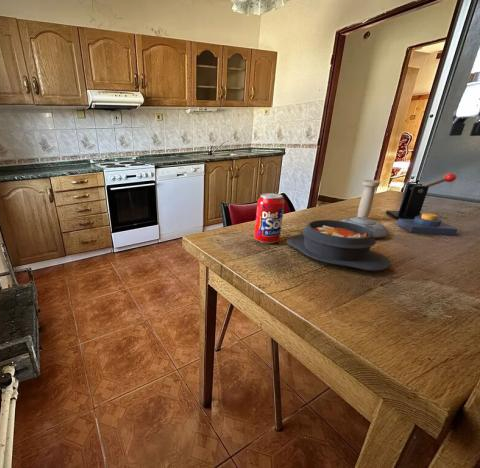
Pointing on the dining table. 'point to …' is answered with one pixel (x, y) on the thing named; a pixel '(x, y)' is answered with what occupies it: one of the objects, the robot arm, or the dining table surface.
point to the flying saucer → (369, 225)
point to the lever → (441, 180)
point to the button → (428, 216)
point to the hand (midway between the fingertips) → (465, 135)
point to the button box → (427, 226)
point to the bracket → (411, 202)
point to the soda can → (269, 218)
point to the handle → (367, 197)
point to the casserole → (339, 245)
